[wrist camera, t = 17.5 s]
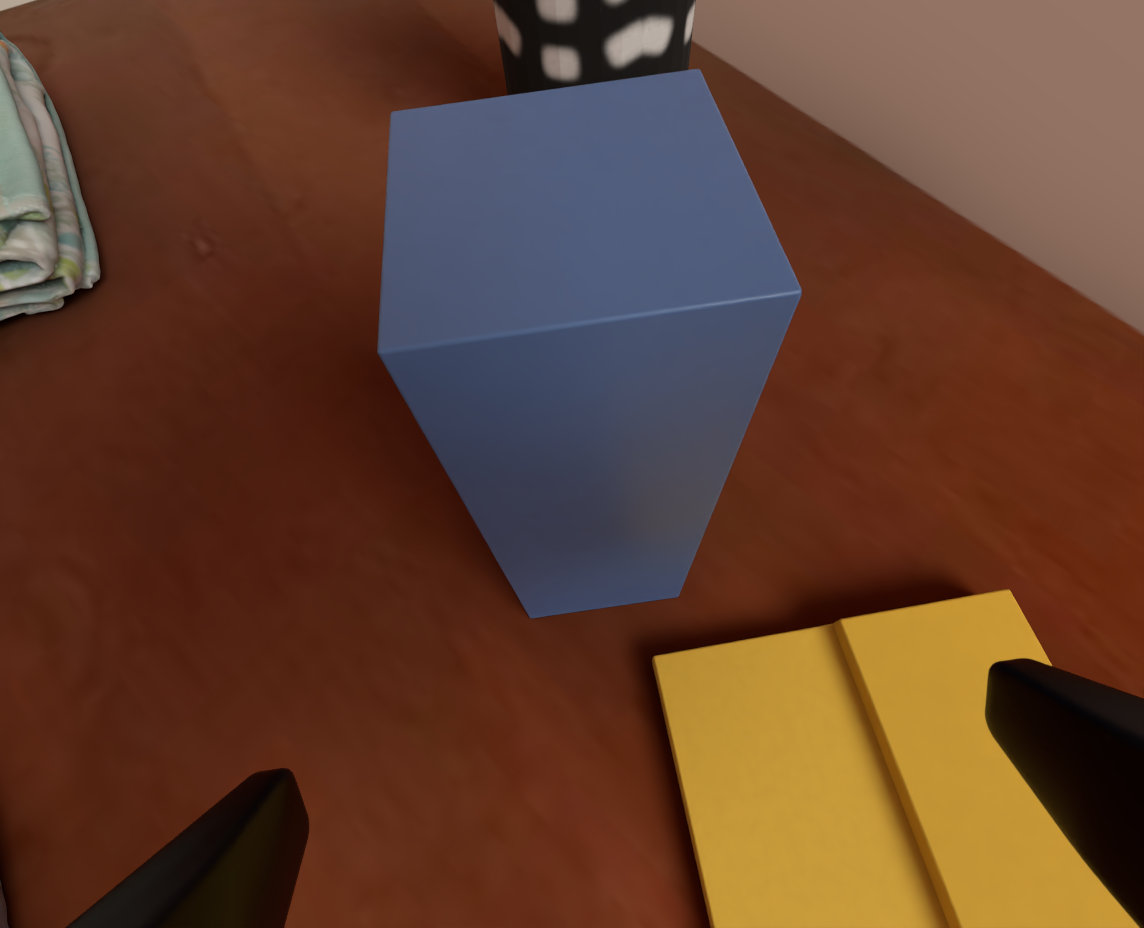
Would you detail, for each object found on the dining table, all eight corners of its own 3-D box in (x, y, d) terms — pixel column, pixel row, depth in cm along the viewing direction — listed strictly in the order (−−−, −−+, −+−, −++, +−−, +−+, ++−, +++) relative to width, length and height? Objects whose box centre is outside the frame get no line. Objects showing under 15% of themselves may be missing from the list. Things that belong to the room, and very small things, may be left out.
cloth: (1203, 1010, 12) (1266, 1037, 11) (748, 1100, 12) (763, 1137, 10) (984, 599, 16) (1013, 587, 15) (651, 659, 16) (654, 652, 15)
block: (678, 597, 17) (805, 291, 6) (529, 618, 17) (374, 353, 6) (649, 466, 19) (700, 65, 8) (517, 485, 19) (389, 110, 8)
